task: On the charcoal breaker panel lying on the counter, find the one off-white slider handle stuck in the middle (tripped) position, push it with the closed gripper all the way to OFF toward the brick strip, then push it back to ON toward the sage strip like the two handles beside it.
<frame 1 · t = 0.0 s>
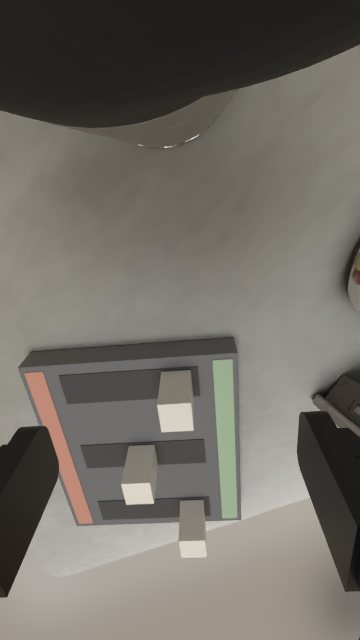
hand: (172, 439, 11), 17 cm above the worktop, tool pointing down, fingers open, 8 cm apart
breaker panel: (146, 433, 34), on the worktop
handle near base: (176, 399, 26), point 5 cm above the worktop, slide at 4.0 cm
handle tripped: (140, 473, 29), point 5 cm above the worktop, slide at 0.0 cm
handle outer: (192, 527, 33), point 5 cm above the worktop, slide at 4.0 cm
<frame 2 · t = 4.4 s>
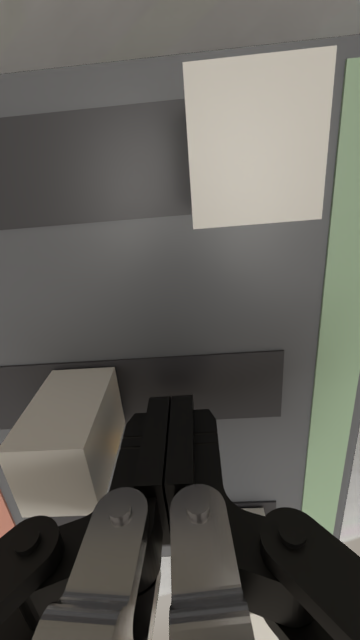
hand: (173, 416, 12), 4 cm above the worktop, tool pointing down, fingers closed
breaker panel: (140, 358, 15), on the worktop
handle near base: (241, 152, 8), point 5 cm above the worktop, slide at 4.0 cm
handle tripped: (73, 433, 11), point 5 cm above the worktop, slide at -1.7 cm, touching gripper
handle outer: (243, 573, 14), point 5 cm above the worktop, slide at 4.0 cm
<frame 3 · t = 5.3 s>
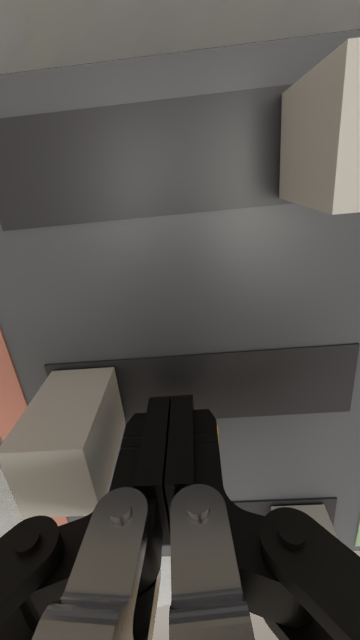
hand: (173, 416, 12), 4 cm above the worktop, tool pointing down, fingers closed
breaker panel: (198, 354, 15), on the worktop
handle near base: (357, 137, 7), point 5 cm above the worktop, slide at 4.0 cm
handle tripped: (73, 434, 11), point 5 cm above the worktop, slide at -4.3 cm, touching gripper
handle outer: (309, 570, 14), point 5 cm above the worktop, slide at 4.0 cm
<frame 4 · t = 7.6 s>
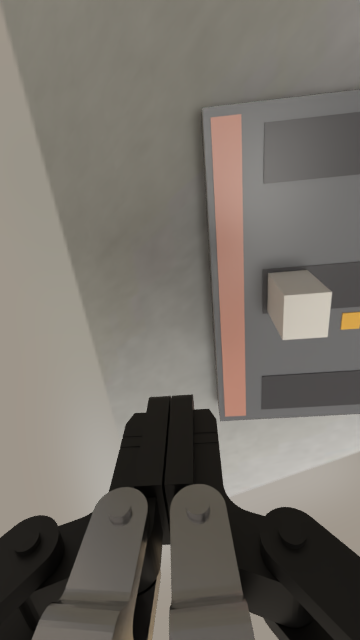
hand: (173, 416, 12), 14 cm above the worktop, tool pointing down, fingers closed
breaker panel: (339, 273, 23), on the worktop
handle tripped: (295, 302, 19), point 5 cm above the worktop, slide at -4.3 cm
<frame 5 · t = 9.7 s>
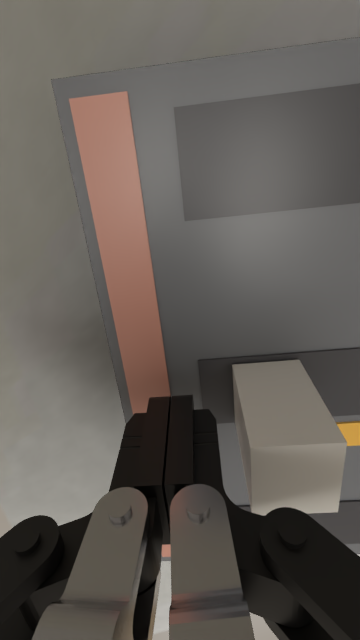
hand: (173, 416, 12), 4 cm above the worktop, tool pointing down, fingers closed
breaker panel: (329, 349, 15), on the worktop
handle tripped: (278, 428, 11), point 5 cm above the worktop, slide at -3.4 cm, touching gripper
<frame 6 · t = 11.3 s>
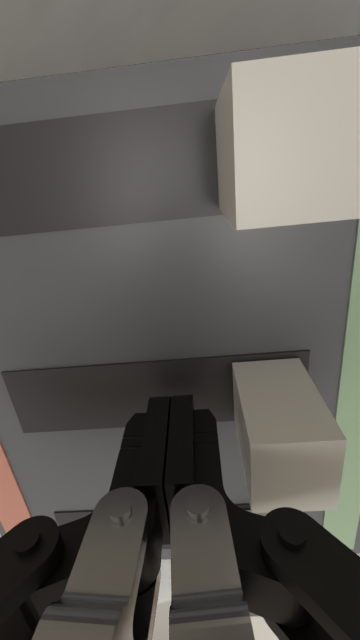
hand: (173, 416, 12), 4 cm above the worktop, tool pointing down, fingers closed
breaker panel: (161, 360, 15), on the worktop
handle near base: (276, 152, 8), point 5 cm above the worktop, slide at 4.0 cm
handle tripped: (277, 426, 11), point 5 cm above the worktop, slide at 4.2 cm, touching gripper
handle outer: (269, 574, 14), point 5 cm above the worktop, slide at 4.0 cm
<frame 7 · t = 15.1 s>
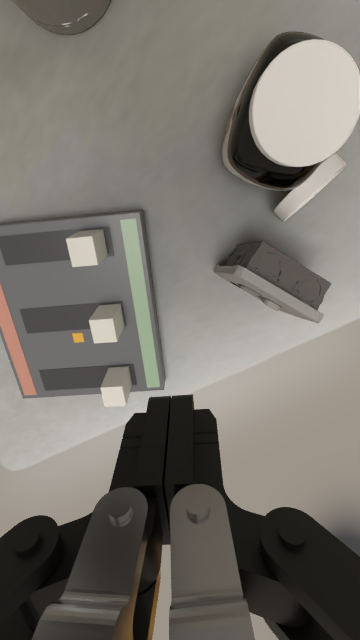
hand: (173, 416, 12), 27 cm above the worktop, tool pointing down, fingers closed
breaker panel: (80, 309, 39), on the worktop
spread jar: (279, 147, 32), on the worktop
handle near base: (88, 247, 32), point 5 cm above the worktop, slide at 4.0 cm
electrical switch: (258, 269, 37), on the worktop
handle tripped: (107, 322, 35), point 5 cm above the worktop, slide at 4.4 cm
handle outer: (117, 386, 38), point 5 cm above the worktop, slide at 4.0 cm
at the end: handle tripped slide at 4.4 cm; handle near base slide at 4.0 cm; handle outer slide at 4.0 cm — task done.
